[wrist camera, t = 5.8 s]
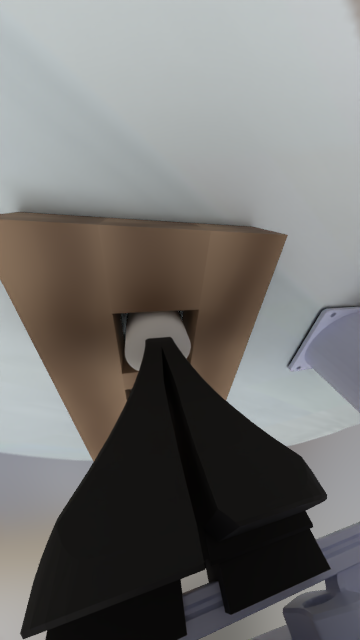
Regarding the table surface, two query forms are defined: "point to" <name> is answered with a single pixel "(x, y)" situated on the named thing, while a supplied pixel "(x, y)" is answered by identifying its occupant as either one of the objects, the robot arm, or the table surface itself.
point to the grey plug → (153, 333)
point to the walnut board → (130, 299)
